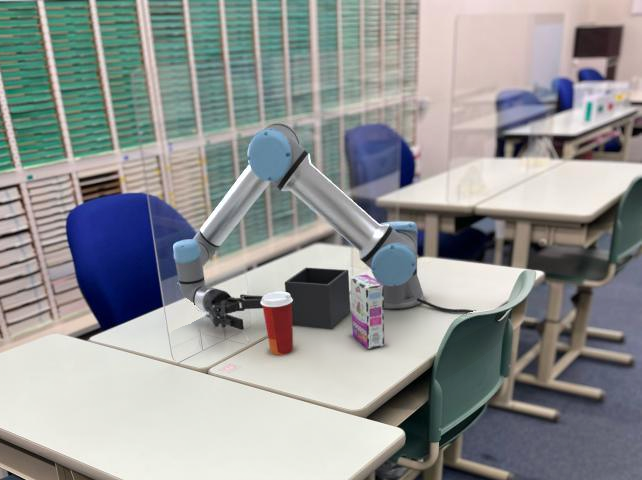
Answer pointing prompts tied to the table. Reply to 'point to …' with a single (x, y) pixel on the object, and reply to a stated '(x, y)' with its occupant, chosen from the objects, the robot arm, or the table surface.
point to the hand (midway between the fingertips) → (262, 316)
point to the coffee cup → (278, 321)
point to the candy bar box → (367, 311)
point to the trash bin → (319, 297)
